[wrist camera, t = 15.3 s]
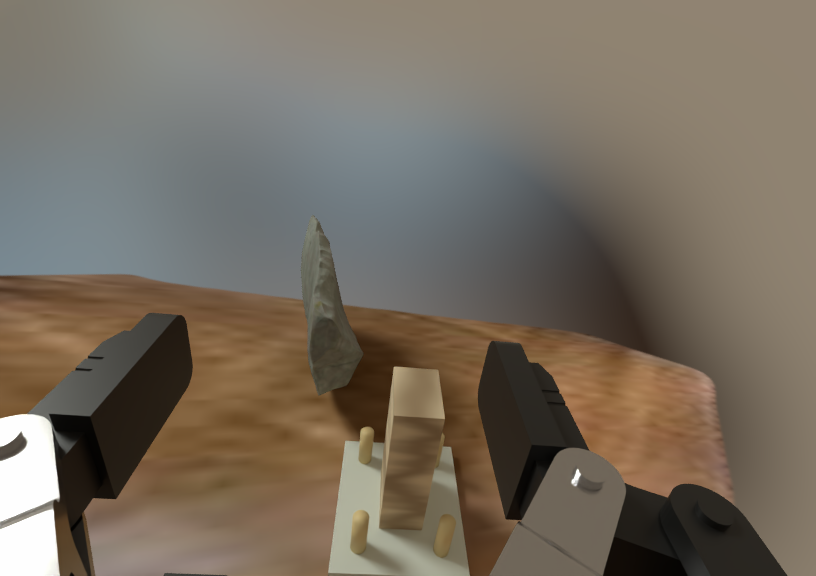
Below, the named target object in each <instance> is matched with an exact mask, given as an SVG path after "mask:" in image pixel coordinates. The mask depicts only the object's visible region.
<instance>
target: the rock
mask: <svg viewBox="0 0 816 576" xmlns="http://www.w3.org/2000/svg"><path fill="white" fill-rule="evenodd" d="M301 278H302V293H303V302H304V308H305V314H306V318H307V322H308V360H309V365H310V368H311V372H312V376H313V379H314V382H315V385H316V389H317V392H318V395H321V394H324V393H326V392H328V391H331V390H333V389H336V388H341V387H344V386H346V385H347V384H348V383H349V381H350V379H351V377H352V375H353V373H354V371H355V369H356V367H357V365H358V363H359V362H360V360H361V358H362V356H363V352H362V350H361V349H360V346H359V344H358V342H357V338H356V336H355V334H354V333H353V331H352V329H351V327H350V325H349V322H348V320H347V317H346V314H345V312H344V308H343V305H342V300H341V296H340V292H339V286H338V282H337V278H336V273H335V268H334V262H333V258H332V253H331V250H330V243H329V241H328V239H327V238H326V236H325V235H324V232H323V230H322V228H321V225H320V223H319V222H318V220H317V219H316V218H315V216H314V215H313V216H311V218H310V221H309V225H308V229H307V233H306V237H305V241H304V246H303V251H302V263H301Z"/></svg>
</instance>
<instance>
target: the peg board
mask: <svg viewBox="0 0 816 576" xmlns="http://www.w3.org/2000/svg"><path fill="white" fill-rule="evenodd" d="M373 439H374V430H373V429H372V428H371V427H364V428H362V429H361V433H360V442H358V441H346V442H345V449H344V457H343V465H342V472H341V480H340V488H339V495H338V503H337V510H336V518H335V526H334V533H333V541H332V548H331V556H330V564H329V571H328V576H470V573H469V567H468V560H467V553H466V546H465V539H464V532H463V525H462V519H461V512H460V505H459V498H458V491H457V484H456V477H455V471H454V464H453V457H452V450H451V447H443V443H444V439H445V436H444V434H443V433H442V436H441V441H440V445H439V450H438V455H437V460H436V465H435V469H434V474H433V479H432V484H431V489H430V494H429V498H428V503H427V508H426V513H425V518H424V522H423V527H422V530H404V529H381V528H379V510H380V482H381V467H382V459H383V451H384V443H375V442H373Z"/></svg>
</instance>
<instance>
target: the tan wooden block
mask: <svg viewBox="0 0 816 576" xmlns="http://www.w3.org/2000/svg"><path fill="white" fill-rule="evenodd" d="M444 421H445V416H444V408H443V401H442V394H441V387H440V380H439V373H438V370H434V369H420V368H407V367H394V370H393V378H392V386H391V394H390V402H389V411H388V419H387V427H386V435H385V443H384V451H383V459H382V467H381V482H380V510H379V528H381V529H404V530H422V527H423V522H424V518H425V513H426V508H427V503H428V498H429V494H430V489H431V484H432V479H433V474H434V469H435V465H436V460H437V455H438V450H439V445H440V441H441V436H442V431H443V426H444Z"/></svg>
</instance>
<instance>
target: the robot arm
mask: <svg viewBox="0 0 816 576" xmlns="http://www.w3.org/2000/svg"><path fill="white" fill-rule="evenodd" d="M192 368H193V365H192V357H191V350H190V344H189V337H188V331H187V324H186V320H185V318H184V317H183V316H182V315H172V314H159V313H149V314H147V315H146V316H145V317H144V318H143V319H142V320H141V321H140V322H139V323H138V324H137V325H136V326H135V327H134V328H133V329H132V330H131V331H122V332H121V333H119V334H117V335H115V336H113V337H111V338H109V339H107V340H106V341H104V342H102V343H101V344H100V345H99V346H98V347H97V348H96V349H95V350H94V351H93V352H92V353H91V354H90V355H89V356H88V359H84V360H83V361H82V362H81V363H80V364H79V365H78V366H77V367H76V370H75V371H72V372H71V373H70V374H69V375H68V376H67V377H66V378H64V379H63V380H62V381H61V382H60V383H59V384H58V385H57V386H56V387H55V388H54V389H53V390H52V391H51V392H50V393H49V394H48V395H47V396H46V397H45V398H43V399H42V400H41V401H40V402H39V403H38V404H37V405H36V406H35V407H34V408H33V409H32V410H31V411H30V412H29V413H28V414H25V415H16V416H10V417H6V418H3V419H0V576H95V571H94V565H93V558H92V552H91V546H90V540H89V533H88V527H87V521H86V517H85V514H84V510H85V509H86V507H87V506H88V504H89V503H90V502H91V500H92V499H93V498H103V499H116V498H117V497H118V495H119V494H120V492H121V490H122V489H123V487H124V486H125V484H126V483H127V481H128V480H129V478H130V476H131V475H132V473H133V472H134V470H135V469H136V467H137V466H138V464H139V462H140V461H141V459H142V458H143V456H144V455H145V453H146V452H147V450H148V448H149V447H150V445H151V444H152V442H153V441H154V439H155V437H156V436H157V434H158V433H159V431H160V430H161V428H162V427H163V425H164V423H165V422H166V420H167V419H168V417H169V416H170V414H171V413H172V411H173V409H174V408H175V406H176V405H177V403H178V402H179V400H180V398H181V397H182V395H183V394H184V392H185V391H186V389H187V387H188V385H189V383H190V380H191V376H192ZM478 406H479V411H480V415H481V419H482V423H483V428H484V432H485V436H486V440H487V444H488V448H489V452H490V456H491V460H492V465H493V469H494V473H495V477H496V481H497V485H498V489H499V493H500V498H501V502H502V506H503V510H504V514H505V518H506V519H509V520H522V521H521V522H520V521H519V522H518V523H517V525H516V526H515V528H514V530H513V532H512V534H511V535H510V537H509V539H508V541H507V543H506V545H505V547H504V549H503V551H502V553H501V554H500V556H499V558H498V560H497V562H496V564H495V566H494V568H493V570H492V571H491V573H490V575H489V576H787V575H786V573H785V572H784V570H783V569H782V568H781V566H780V565H779V563H778V562H777V561H776V559H775V558H774V556H773V555H772V554H771V552H770V551H769V549H768V548H767V547H766V545H765V544H764V542H763V541H762V540H761V538H760V537H759V535H758V534H757V533H756V531H755V530H754V528H753V527H752V526H751V524H750V523H749V521H748V520H747V519H746V517H745V516H744V515H743V514H742V513H741V512H740V511H739V510H738V509H737V508H736V507H735V506H734V505H733V504H732V503H731V502H729V501H728V500H726V499H725V498H724V497H722V496H721V495H719V494H717V493H715V492H713V491H712V490H709V489H707V488H705V487H702V486H698V485H694V484H681V485H678V486H676V487H675V488H674V489H673V490H672V492H671V493H670V495H669V497H668V498H667V497H664V496H661V495H658V494H655V493H651V492H648V491H645V490H642V489H639V488H636V487H633V486H631V485H628V484H626V483H624V481H623V479H622V477H621V475H620V474H619V472H618V471H617V470H616V469H615V467H614V466H613V465H611V464H610V463H609V462H608V461H607V460H605V459H604V458H603V457H601V456H599V455H597V454H595V453H593V452H591V451H589V449H588V447H587V445H586V443H585V441H584V439H583V437H582V435H581V433H580V431H579V429H578V427H577V425H576V423H575V421H574V419H573V417H572V415H571V413H570V411H569V409H568V407H567V406H565V401H564V399H563V397H562V395H561V394H559V389H558V387H557V385H556V383H555V381H554V379H553V377H552V376H551V375H550V374H549V373H548V372H547V371H546V370H545V369H544V368H543V367H542V366H541V365H540V364H539V363H530V362H529V361H528V359H527V357H526V355H525V352H524V350H523V348H522V346H521V344H520V343H511V342H499V341H491V343H490V344H489V347H488V351H487V355H486V359H485V363H484V367H483V371H482V375H481V379H480V383H479V389H478ZM164 576H226V575H201V574H173V573H165V574H164Z"/></svg>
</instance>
